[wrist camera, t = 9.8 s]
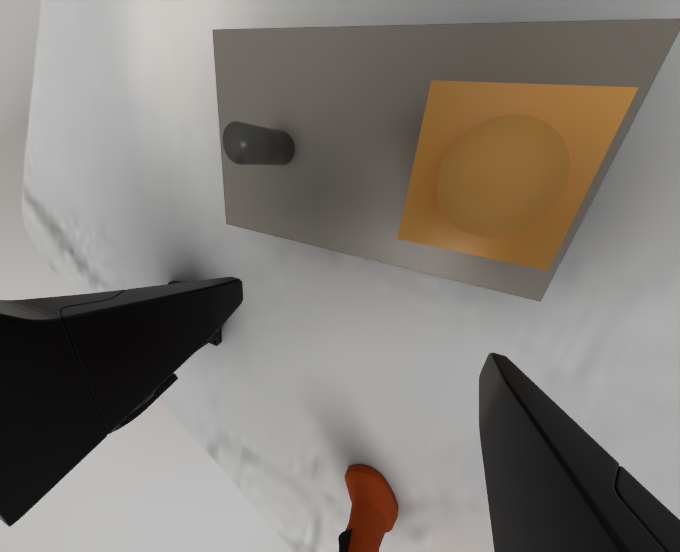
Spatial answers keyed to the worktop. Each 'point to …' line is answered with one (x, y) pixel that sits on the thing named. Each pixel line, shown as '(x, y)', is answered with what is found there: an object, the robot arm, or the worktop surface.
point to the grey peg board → (394, 124)
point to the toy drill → (367, 510)
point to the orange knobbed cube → (507, 165)
